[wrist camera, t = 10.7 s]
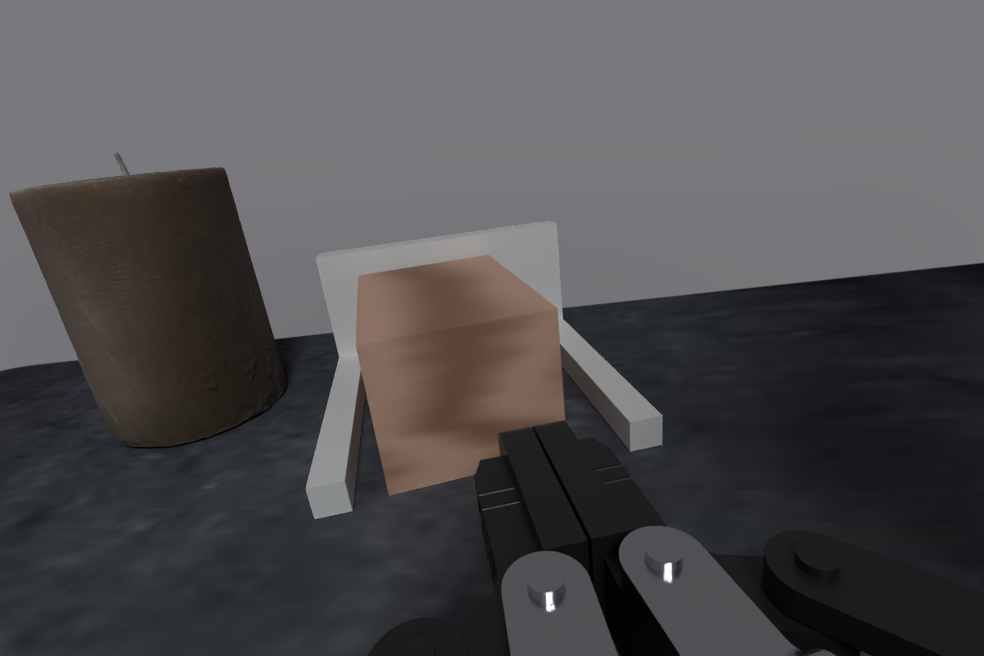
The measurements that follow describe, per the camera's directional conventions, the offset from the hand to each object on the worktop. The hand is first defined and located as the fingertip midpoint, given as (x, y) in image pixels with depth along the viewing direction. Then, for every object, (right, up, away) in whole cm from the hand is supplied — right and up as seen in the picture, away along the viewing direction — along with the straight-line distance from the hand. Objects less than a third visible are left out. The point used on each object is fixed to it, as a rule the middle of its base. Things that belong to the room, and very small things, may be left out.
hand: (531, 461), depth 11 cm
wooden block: (-3, -2, +16) cm, 16 cm away
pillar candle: (-19, -2, +20) cm, 27 cm away
